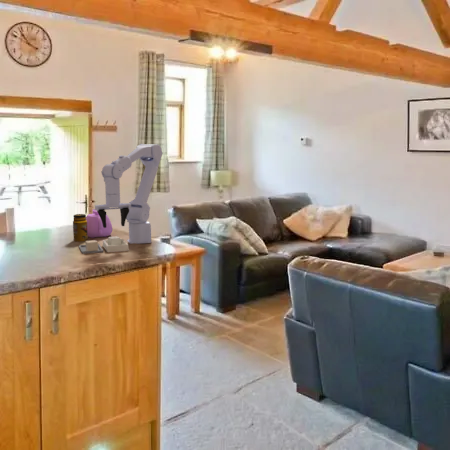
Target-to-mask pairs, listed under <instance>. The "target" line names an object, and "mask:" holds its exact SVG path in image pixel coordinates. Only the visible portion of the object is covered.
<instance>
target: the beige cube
mask: <svg viewBox="0 0 450 450" xmlns="http://www.w3.org/2000/svg"><path fill="white" fill-rule="evenodd" d="M98 244H99V242H98V240H97V239H93V240H87V241H85V245H86V251H97V250H98Z"/></svg>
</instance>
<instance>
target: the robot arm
mask: <svg viewBox="0 0 450 450" xmlns="http://www.w3.org/2000/svg"><path fill="white" fill-rule="evenodd" d="M162 156H163V151H162V147H161V145H160V144H158V143H155V144H154V143H150V144H149V143H146V144H145V143H140V144H138V145H136V147H135V149H133V150H132V151H131V152H130V153H129V154H128V155H122V154H120V155H119V156H118V158H117V159H115V160H112V162H110V163H109V164H108V163H107V164H105V165H104V166H103V167H102V170H101V175H102V177H103V182H104V185H105V204H96V205H94V209H95V210H96V211H97V212H98V214H99V216H100V218H101V220H102V224H103V227H104V228H106V214H107V211H106V210H108V211H109V210H119V211H120V225H121V227H125V226H126V225H125V224H126V222H127V223H128V239H127V240H126V242H127V243H128V244H138V245H139V244H152V225H151V222H150V221H148V220H149V218H150V210H151V206H150V205H149V203H148V200H149V197H150V195H151V191H152V187H153V185H154V182H155V178H156V176H157V173H158V171H159V165H160V162H161V160H162ZM138 160H140V162H141V163H142V165H144V167H145V168H144V170H143V173H142V177H141V179H140V182H139V185H138V187H137V191H136V194H135V197H134V199H133V200H131V201H130V202H129V203H126V202H125V203H124V202H122V203H121V190H120V189H121V188H120V185H121V184H120V179H121V178H122V176H123V173H124V172H126V171H127V170H129V169H131V167H132V165H133V163H134V162H136V161H138ZM126 220H127V221H126Z"/></svg>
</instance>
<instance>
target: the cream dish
mask: <svg viewBox="0 0 450 450" xmlns="http://www.w3.org/2000/svg"><path fill="white" fill-rule="evenodd" d="M120 240H121V245H108V239H103V240H102V248H104V250H105V252H107V253H116V252H128V251H129V243H128V242H127V241H125V239H124V238H120Z"/></svg>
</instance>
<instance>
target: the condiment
mask: <svg viewBox="0 0 450 450" xmlns="http://www.w3.org/2000/svg"><path fill="white" fill-rule="evenodd" d="M86 217H87V215H86V214H84V213H77V214H73V221H72V230H73V231H72V235H73V242H77V243H78V242H79V243H81V242H86V241H89V240H88V238H89V237H88V233H87V220H86Z"/></svg>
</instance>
